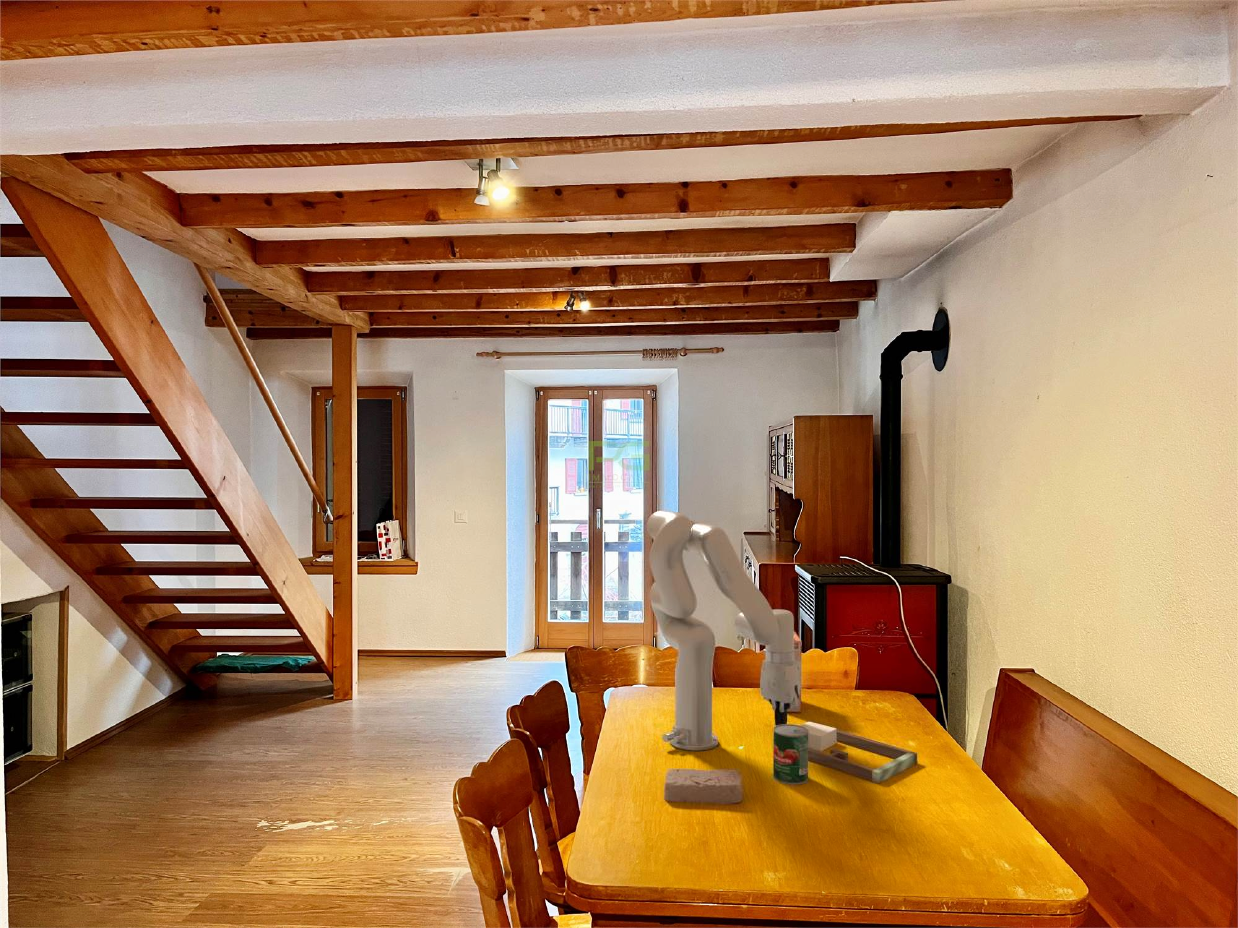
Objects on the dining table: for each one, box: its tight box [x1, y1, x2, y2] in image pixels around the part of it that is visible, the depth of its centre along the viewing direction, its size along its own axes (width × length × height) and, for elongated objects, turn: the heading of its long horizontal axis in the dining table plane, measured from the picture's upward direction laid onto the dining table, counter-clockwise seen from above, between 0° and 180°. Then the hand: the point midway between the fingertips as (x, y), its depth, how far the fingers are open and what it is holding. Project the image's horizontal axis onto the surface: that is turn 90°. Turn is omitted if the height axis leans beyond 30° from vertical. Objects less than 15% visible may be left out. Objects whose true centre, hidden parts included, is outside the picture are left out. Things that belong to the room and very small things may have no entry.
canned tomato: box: [772, 723, 809, 786], centre depth 174 cm, size 8×8×11 cm
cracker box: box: [787, 631, 803, 713], centre depth 227 cm, size 14×6×21 cm, turn 174°
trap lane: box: [808, 729, 918, 784], centre depth 187 cm, size 18×28×2 cm, turn 42°
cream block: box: [799, 721, 838, 752], centre depth 196 cm, size 8×8×4 cm
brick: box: [663, 768, 743, 805], centre depth 165 cm, size 17×8×5 cm, turn 84°
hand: (781, 724), depth 204 cm, fingers closed
